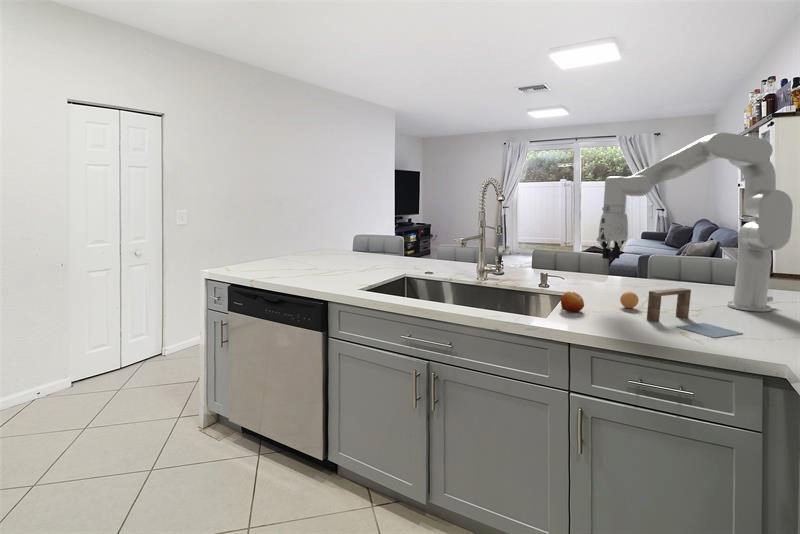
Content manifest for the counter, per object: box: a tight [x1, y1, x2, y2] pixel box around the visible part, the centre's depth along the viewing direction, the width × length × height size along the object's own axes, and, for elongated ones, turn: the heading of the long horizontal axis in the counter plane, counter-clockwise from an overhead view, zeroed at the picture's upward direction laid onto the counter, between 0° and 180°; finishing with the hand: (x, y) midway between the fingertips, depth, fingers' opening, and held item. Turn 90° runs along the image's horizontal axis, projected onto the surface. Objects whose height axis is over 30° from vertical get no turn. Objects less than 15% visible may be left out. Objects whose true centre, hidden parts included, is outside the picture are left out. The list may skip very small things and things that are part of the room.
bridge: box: [646, 287, 692, 323], centre depth 148 cm, size 3×15×10 cm, turn 110°
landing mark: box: [675, 322, 744, 339], centre depth 136 cm, size 12×12×1 cm
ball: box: [619, 291, 640, 309], centre depth 163 cm, size 6×6×6 cm
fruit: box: [559, 291, 585, 314], centre depth 159 cm, size 8×8×8 cm
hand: (610, 257), depth 170 cm, fingers open, 3 cm apart
